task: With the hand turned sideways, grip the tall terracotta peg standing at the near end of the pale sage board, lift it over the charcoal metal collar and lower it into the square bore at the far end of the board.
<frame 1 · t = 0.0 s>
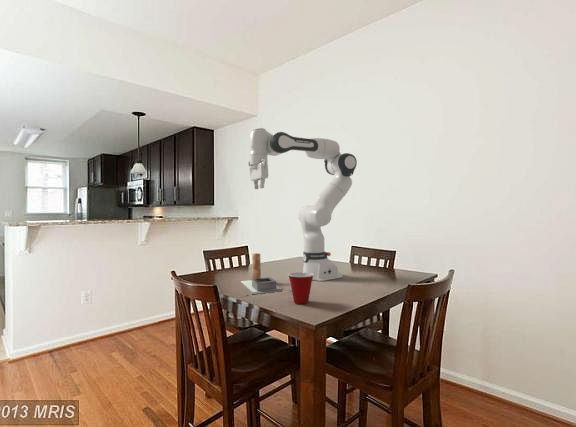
hand: (259, 188, 166), 48 cm above the table, tool pointing down, fingers open, 8 cm apart
plastic cup: (301, 302, 134), on the table
peg: (256, 282, 163), point 1 cm above the table, touching board
board: (260, 287, 158), on the table
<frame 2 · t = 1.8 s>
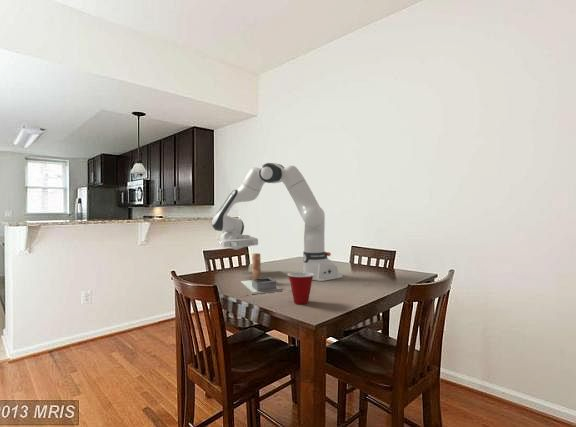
hand: (245, 244, 173), 19 cm above the table, tool horizontal, fingers open, 8 cm apart
nothing on the table moved.
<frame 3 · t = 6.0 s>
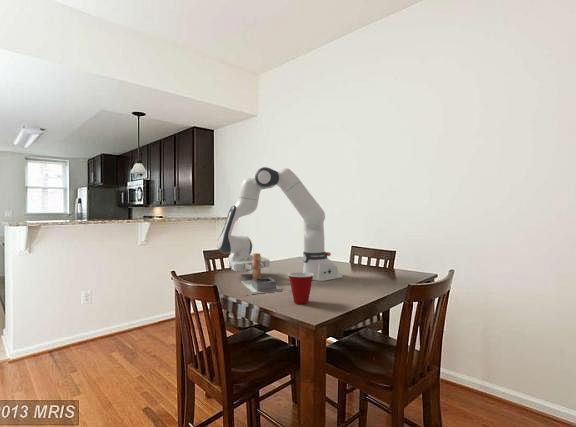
hand: (257, 266, 162), 9 cm above the table, tool horizontal, fingers closed on peg, 4 cm apart
peg: (256, 282, 163), point 1 cm above the table, touching board, gripper
everything else where it was.
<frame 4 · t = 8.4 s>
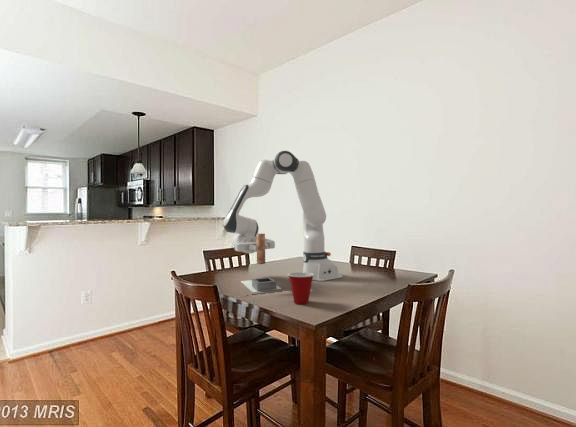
hand: (261, 247, 154), 20 cm above the table, tool horizontal, fingers closed on peg, 4 cm apart
peg: (261, 263, 155), point 12 cm above the table, touching gripper
everything else where it was.
when the fingers open (11 cm above the table, at t = 11.3 s): peg drops 2 cm, resting on board.
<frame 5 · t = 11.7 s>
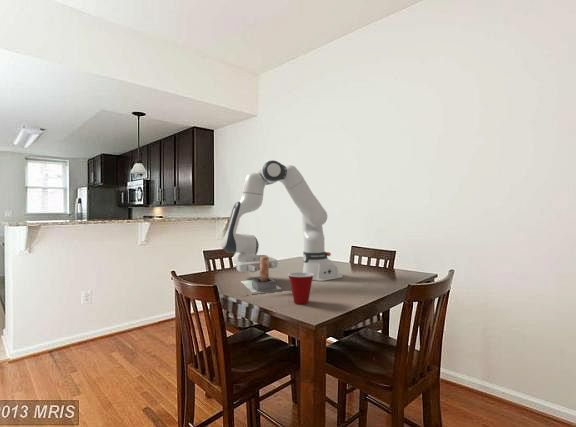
hand: (264, 267, 151), 11 cm above the table, tool horizontal, fingers open, 8 cm apart
peg: (264, 287, 152), point 2 cm above the table, touching board
everything else where it was.
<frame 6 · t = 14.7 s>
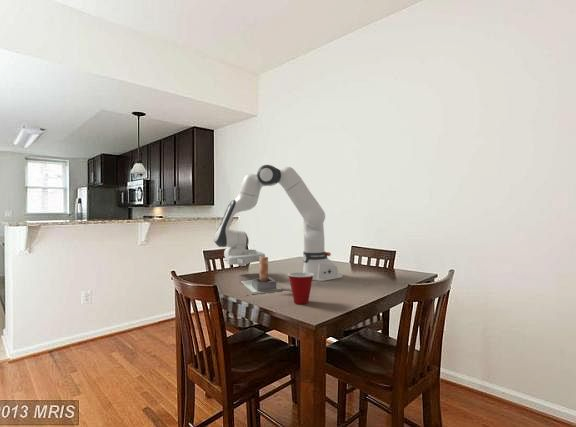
hand: (252, 260, 162), 12 cm above the table, tool horizontal, fingers open, 8 cm apart
nothing on the table moved.
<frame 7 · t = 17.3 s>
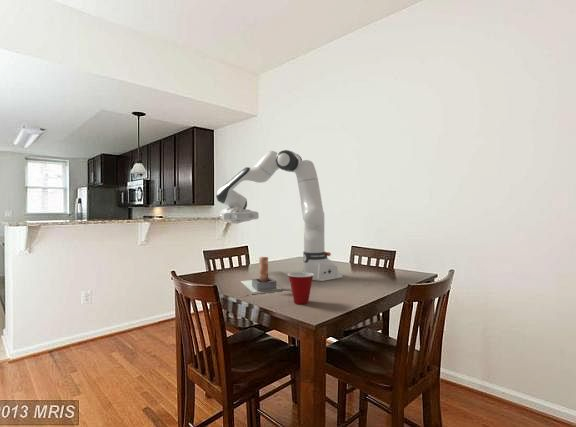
hand: (246, 216, 171), 34 cm above the table, tool horizontal, fingers open, 8 cm apart
nothing on the table moved.
at the end: peg 0.0 cm from the target spot on the board, point 1.5 cm above the board's base; peg tilted 0°; the gripper is holding nothing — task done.
